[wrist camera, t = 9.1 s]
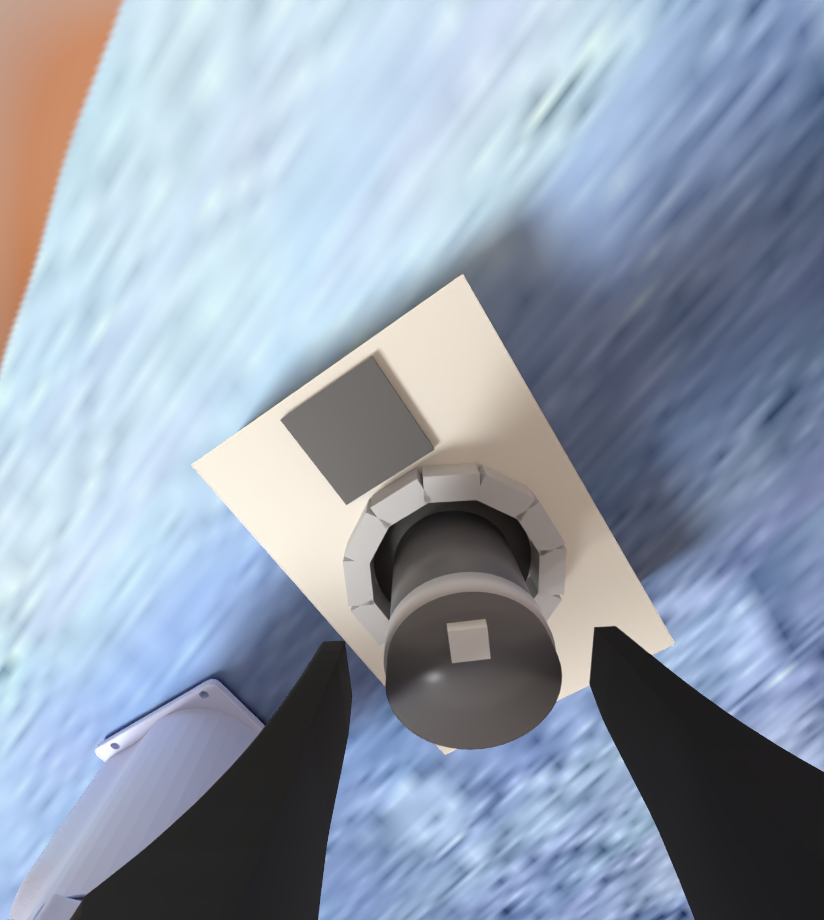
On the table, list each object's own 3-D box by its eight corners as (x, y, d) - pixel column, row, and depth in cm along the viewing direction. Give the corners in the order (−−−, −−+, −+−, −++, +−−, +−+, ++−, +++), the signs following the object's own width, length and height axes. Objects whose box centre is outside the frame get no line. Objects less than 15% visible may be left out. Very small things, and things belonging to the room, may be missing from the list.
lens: (517, 607, 18) (571, 752, 12) (401, 621, 18) (396, 770, 12) (509, 500, 16) (567, 603, 10) (382, 516, 16) (366, 627, 11)
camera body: (439, 687, 24) (447, 780, 19) (233, 437, 20) (174, 475, 15) (630, 589, 22) (692, 664, 17) (451, 284, 18) (467, 269, 13)
